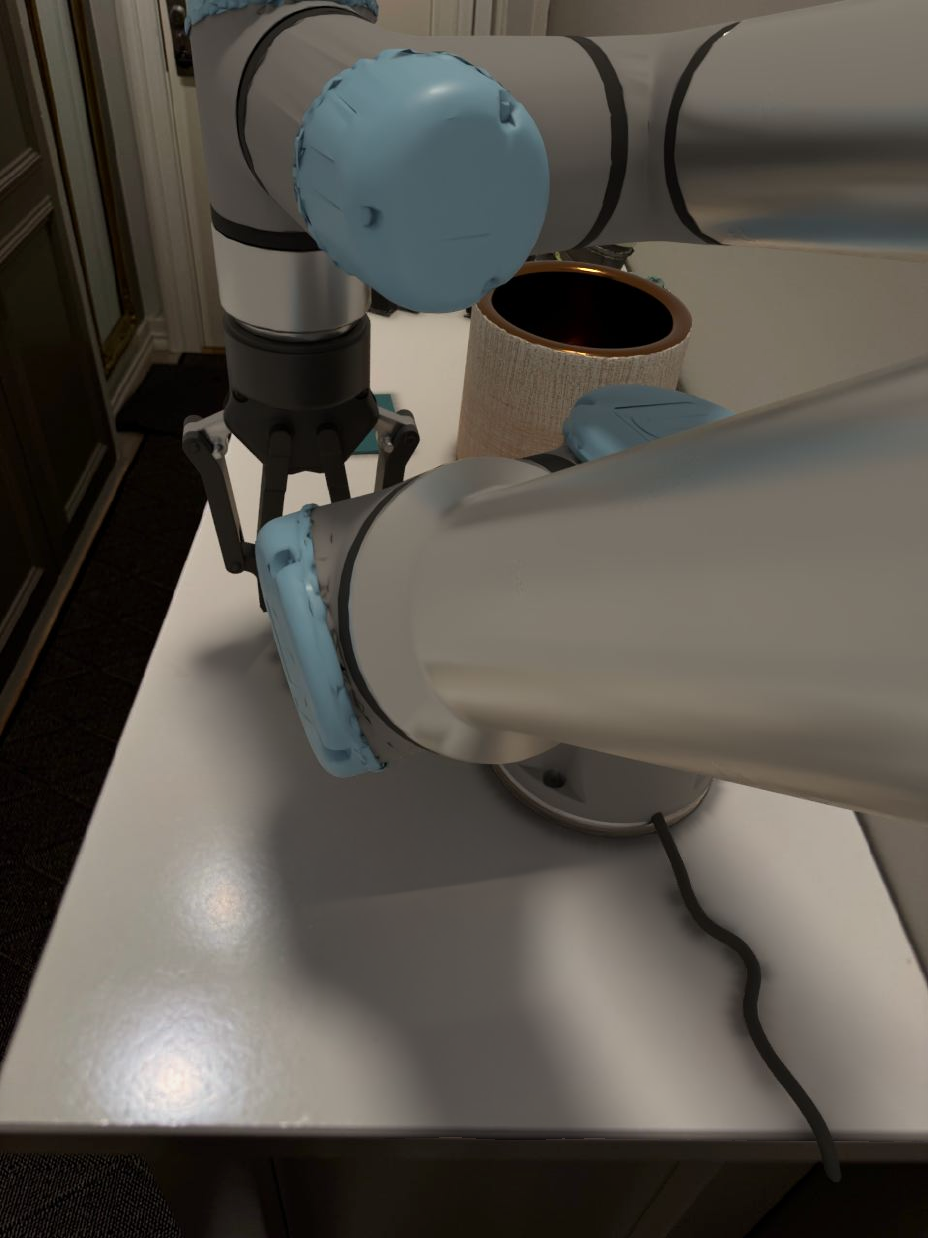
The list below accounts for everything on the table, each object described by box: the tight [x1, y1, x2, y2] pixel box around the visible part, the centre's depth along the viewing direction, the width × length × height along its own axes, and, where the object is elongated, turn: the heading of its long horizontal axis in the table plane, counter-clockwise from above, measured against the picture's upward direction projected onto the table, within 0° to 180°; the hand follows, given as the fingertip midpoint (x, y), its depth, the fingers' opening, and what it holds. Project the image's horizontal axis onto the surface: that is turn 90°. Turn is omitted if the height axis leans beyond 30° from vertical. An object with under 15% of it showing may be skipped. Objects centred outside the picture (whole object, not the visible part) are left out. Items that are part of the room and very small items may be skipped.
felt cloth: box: [352, 393, 396, 455], centre depth 81 cm, size 10×7×1 cm
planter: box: [456, 259, 694, 460], centre depth 73 cm, size 18×18×16 cm
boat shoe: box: [551, 242, 638, 270], centre depth 113 cm, size 11×29×9 cm, turn 10°
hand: (313, 636), depth 59 cm, fingers closed on walnut stick, 3 cm apart
